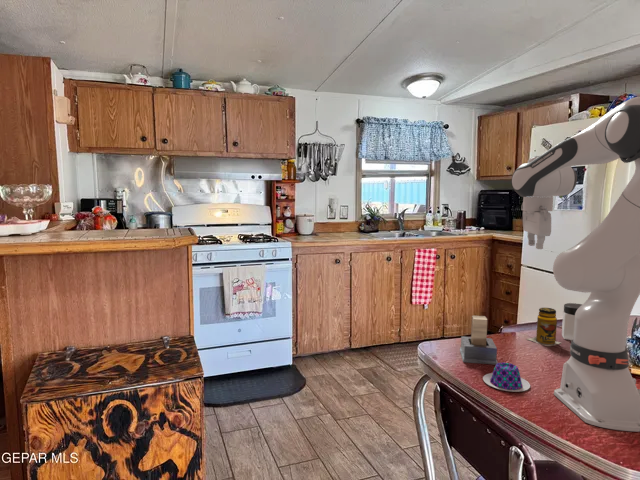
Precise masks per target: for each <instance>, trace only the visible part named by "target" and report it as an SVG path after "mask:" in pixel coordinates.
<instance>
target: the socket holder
mask: <svg viewBox="0 0 640 480" xmlns="http://www.w3.org/2000/svg"><path fill="white" fill-rule="evenodd" d="M460 338H461V339H460V347H459V352H460V356H461V360H462V362H463V363H469V364H470V363H471V364H484V365H495V366H496V364H497V363H499V362H498V360H497V357H498V356H497V354H498V348H497V346H496V344H495V342H494V340H493V338H489V337H487V338H486V346H484V345H471V336H460Z"/></svg>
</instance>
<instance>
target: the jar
mask: <svg viewBox="0 0 640 480" xmlns="http://www.w3.org/2000/svg"><path fill="white" fill-rule="evenodd" d="M581 305H583V303H582V304H581V303H574V302H573V303H571V302H569V303H564V304H563V311H562V324H561V326H562V327H561V336H562V338H563V340H567V341H570V342H571V341H572V340H573V337H574V322H575V313H576V311H577V309H578V308H579V307H580V306H581Z"/></svg>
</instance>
